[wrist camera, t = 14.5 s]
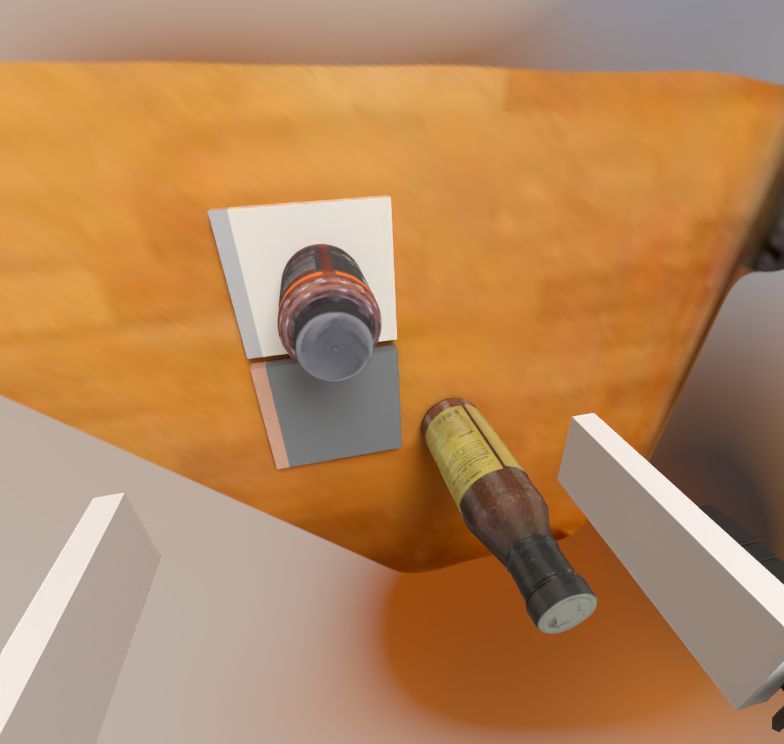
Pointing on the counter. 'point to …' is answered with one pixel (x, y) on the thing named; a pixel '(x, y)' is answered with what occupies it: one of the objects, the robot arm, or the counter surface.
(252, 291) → the cream square tile
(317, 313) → the supplement bottle
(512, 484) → the sauce bottle
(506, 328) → the counter surface
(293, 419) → the grey square coaster
